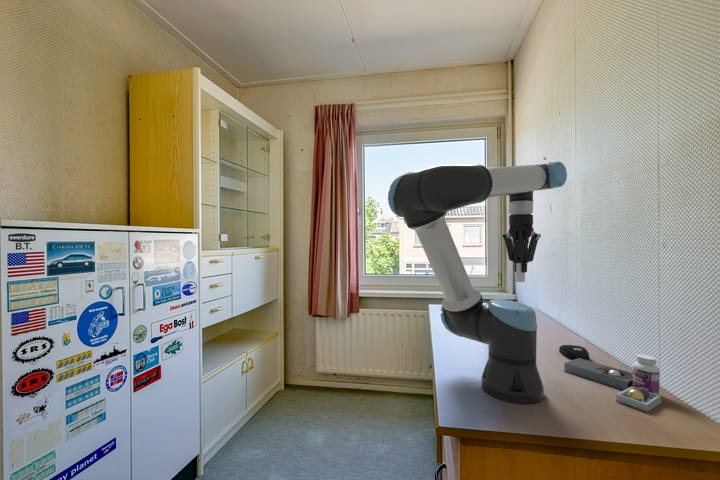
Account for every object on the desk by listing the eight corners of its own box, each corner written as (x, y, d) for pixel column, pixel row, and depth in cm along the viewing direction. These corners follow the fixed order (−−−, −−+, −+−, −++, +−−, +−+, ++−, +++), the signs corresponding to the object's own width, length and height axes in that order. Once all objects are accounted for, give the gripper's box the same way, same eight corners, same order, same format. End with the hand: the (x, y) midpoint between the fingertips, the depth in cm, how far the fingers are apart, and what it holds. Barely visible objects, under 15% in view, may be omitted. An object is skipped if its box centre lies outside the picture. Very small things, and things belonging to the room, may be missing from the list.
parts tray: (647, 412, 75) (647, 404, 75) (616, 401, 80) (616, 394, 80) (661, 403, 80) (661, 395, 80) (631, 393, 85) (631, 386, 85)
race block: (627, 391, 86) (627, 382, 86) (564, 370, 100) (564, 362, 100) (641, 384, 91) (641, 375, 91) (578, 365, 105) (579, 357, 105)
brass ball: (641, 407, 77) (641, 393, 77) (624, 401, 80) (624, 388, 80) (646, 403, 79) (646, 390, 79) (630, 398, 81) (630, 385, 81)
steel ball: (619, 375, 90) (607, 368, 93) (616, 385, 91) (603, 378, 94) (625, 373, 92) (612, 366, 94) (621, 382, 92) (609, 376, 95)
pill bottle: (627, 389, 87) (627, 354, 87) (641, 387, 89) (641, 352, 89) (650, 398, 82) (650, 360, 82) (664, 396, 83) (664, 359, 84)
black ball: (646, 402, 79) (646, 391, 79) (632, 397, 82) (632, 386, 82) (651, 399, 81) (651, 388, 81) (637, 395, 83) (637, 384, 83)
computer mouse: (569, 362, 108) (569, 350, 108) (556, 351, 120) (556, 340, 120) (595, 364, 106) (595, 352, 107) (579, 352, 118) (579, 342, 118)
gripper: (545, 213, 108) (545, 283, 108) (510, 216, 120) (510, 279, 119) (532, 212, 105) (532, 284, 104) (497, 215, 116) (497, 280, 115)
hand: (520, 281), depth 112 cm, fingers closed
